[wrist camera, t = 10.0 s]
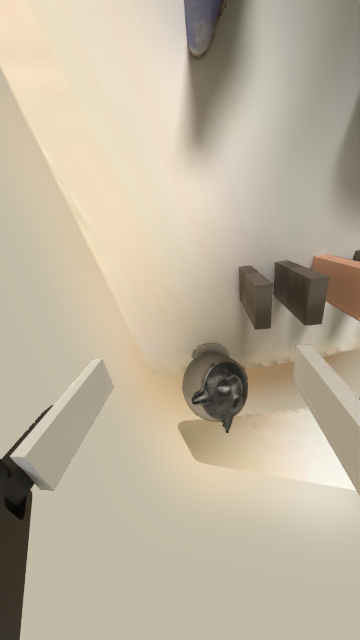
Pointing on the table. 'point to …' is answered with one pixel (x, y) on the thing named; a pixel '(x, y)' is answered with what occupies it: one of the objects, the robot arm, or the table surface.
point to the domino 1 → (256, 296)
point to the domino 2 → (301, 291)
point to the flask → (201, 23)
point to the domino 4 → (357, 256)
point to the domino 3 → (341, 282)
